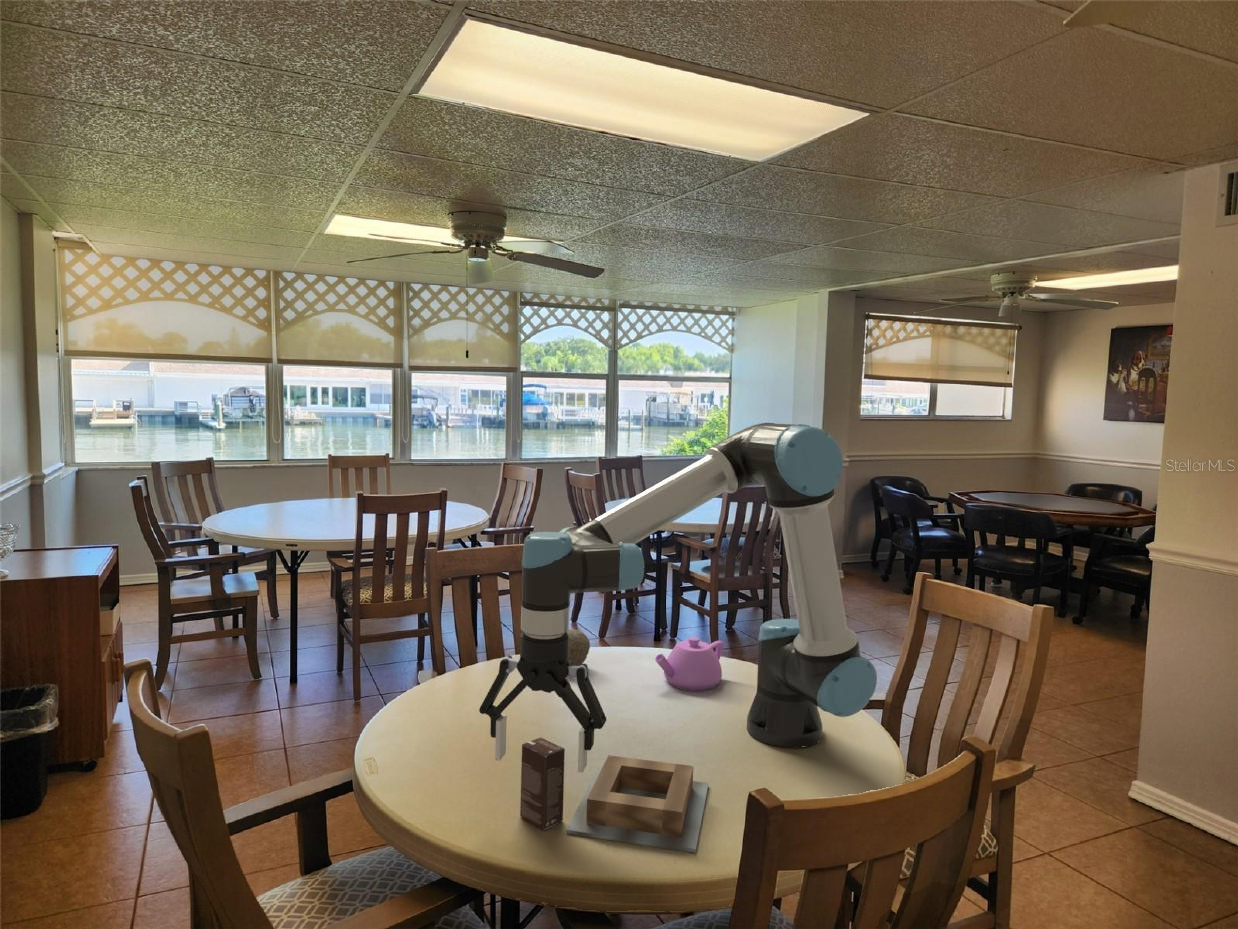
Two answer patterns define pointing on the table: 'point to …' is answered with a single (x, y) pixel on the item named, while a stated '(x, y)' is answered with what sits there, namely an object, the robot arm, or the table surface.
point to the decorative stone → (577, 647)
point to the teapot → (693, 664)
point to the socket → (642, 804)
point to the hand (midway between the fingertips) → (540, 762)
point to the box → (542, 783)
